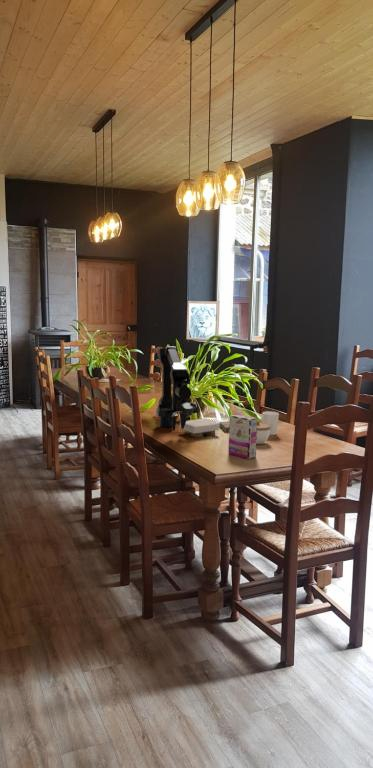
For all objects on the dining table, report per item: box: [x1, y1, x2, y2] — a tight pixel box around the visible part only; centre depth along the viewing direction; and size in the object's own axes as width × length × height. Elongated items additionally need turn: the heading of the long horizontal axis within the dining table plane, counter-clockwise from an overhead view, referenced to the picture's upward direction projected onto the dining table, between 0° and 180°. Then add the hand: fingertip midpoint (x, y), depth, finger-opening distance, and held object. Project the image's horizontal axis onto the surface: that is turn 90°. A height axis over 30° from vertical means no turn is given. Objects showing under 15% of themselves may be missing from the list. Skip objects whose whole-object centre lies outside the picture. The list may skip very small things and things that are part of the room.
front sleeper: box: [185, 430, 204, 439], centre depth 268 cm, size 12×3×3 cm, turn 25°
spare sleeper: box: [218, 421, 229, 434], centre depth 279 cm, size 12×3×3 cm, turn 12°
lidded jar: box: [256, 420, 271, 445], centre depth 256 cm, size 11×11×9 cm
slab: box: [179, 418, 220, 433], centre depth 268 cm, size 12×14×3 cm
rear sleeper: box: [203, 431, 216, 437], centre depth 271 cm, size 12×3×3 cm, turn 49°
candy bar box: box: [227, 413, 258, 460], centre depth 234 cm, size 11×5×16 cm, turn 45°
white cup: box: [261, 410, 280, 436], centre depth 272 cm, size 8×8×10 cm
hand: (178, 429), depth 261 cm, fingers open, 4 cm apart
